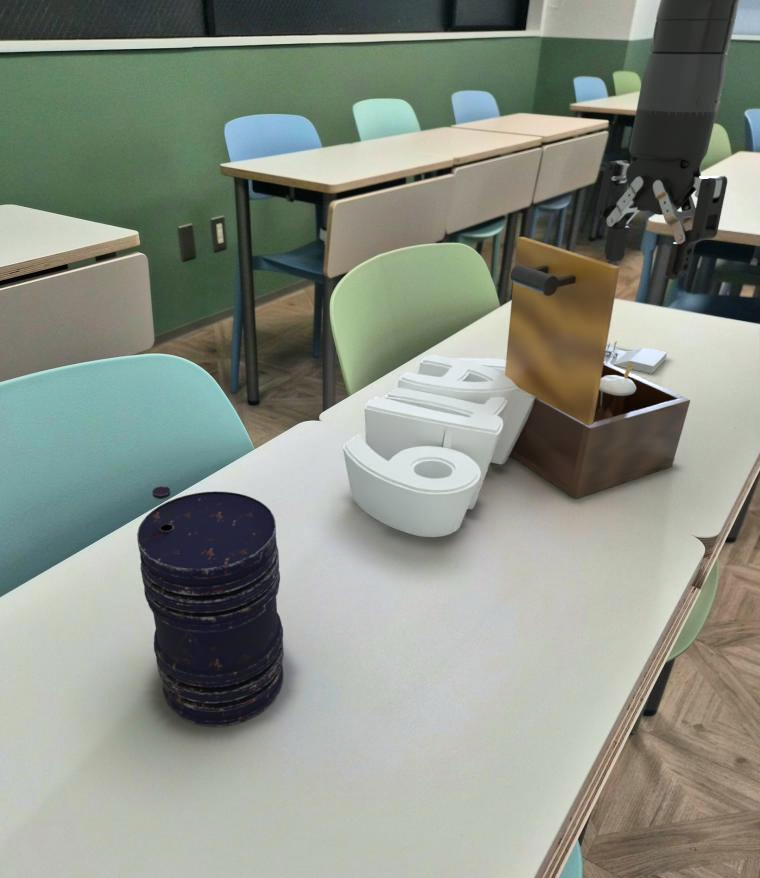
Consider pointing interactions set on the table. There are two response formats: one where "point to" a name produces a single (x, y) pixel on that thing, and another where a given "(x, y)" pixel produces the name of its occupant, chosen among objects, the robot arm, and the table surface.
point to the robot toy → (635, 358)
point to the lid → (559, 326)
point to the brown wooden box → (603, 440)
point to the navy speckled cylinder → (214, 604)
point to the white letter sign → (435, 443)
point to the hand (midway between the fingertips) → (642, 269)
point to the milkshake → (614, 396)
